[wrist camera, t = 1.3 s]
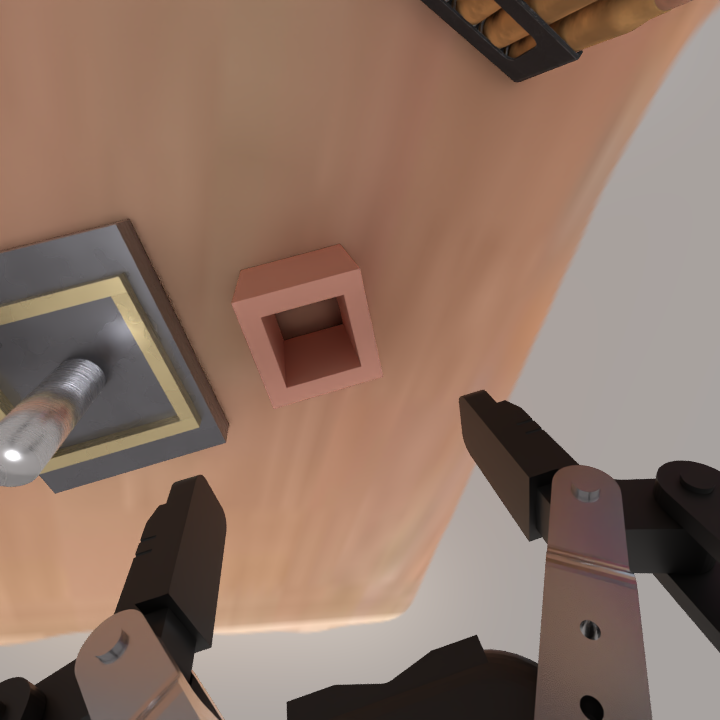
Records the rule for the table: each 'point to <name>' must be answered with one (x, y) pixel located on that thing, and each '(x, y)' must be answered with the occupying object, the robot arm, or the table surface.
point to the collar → (314, 350)
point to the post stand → (94, 364)
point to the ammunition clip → (543, 28)
